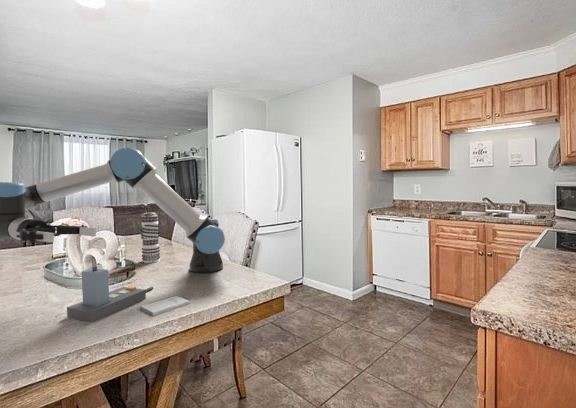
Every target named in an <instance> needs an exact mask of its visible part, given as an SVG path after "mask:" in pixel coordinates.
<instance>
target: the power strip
mask: <svg viewBox="0 0 576 408" xmlns="http://www.w3.org/2000/svg"><path fill="white" fill-rule="evenodd" d="M153 289H154V286H150V287H147V288H145V289H143V288H137V287H136V286H131V285H129V286H121V287H119V288H116V289H114V290H109V303H106V304H104V305H101V306H99V307H93V306H87V305H83V301H80V302H77V303H75V304H72V305H70V306H67V307H66V316H67V318H68V319H73V320H79V321H84V322H89V323H93V322H96V321H98V320H100V319H102V318H105V317H107V316H109V315H111V314H113V313H115V312H118V311H120V310H123V309H126V308H128V307H129V306H132V305H134V304H136V303H138V302H141V301H143V300H144V299H146V298H147V294H146V293H147V292H149V291H151V290H153Z"/></svg>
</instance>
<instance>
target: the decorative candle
mask: <svg viewBox="0 0 576 408" xmlns="http://www.w3.org/2000/svg"><path fill="white" fill-rule="evenodd" d="M158 216H159V215H158V214H157V213H156V212H153V211H152V212H151V211H150V212H144V213H142V214H141V226H140V227H139V228H140V239H141V240H142V244H141V246H142V248H141V253H142V254H141V259H142V260H141V261H142V263H143V262H144V264H152V262H153V263H157V261H158V262H160V261H161V259H160V258H161V256H160V255H161V253H160V251H161V250H160V248H161V247H160V244H159V243H160V241H159V239H160V236H159V235H160V234H161V233H160V229H159V228H161V225H160V222H159V217H158Z"/></svg>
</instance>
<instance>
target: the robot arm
mask: <svg viewBox="0 0 576 408" xmlns="http://www.w3.org/2000/svg"><path fill="white" fill-rule="evenodd" d="M112 182H116V183H117V184H119V183H121V182H125V183H126V184H127V185H129V187H131V188H132V189H133V190H135V189H137V190H140V191H141V192H143V193H144V194H145V196H146V197H148V199H150V200H151V201H152V202H153V203H154V204H155V205H157V207H159V208H160V210H162V211H163V212H164V213H165V214H167V215H168V216H169V217H170V218H171V219H172V220H173V221H174V222H175V223H176V224H177V225H178V226H179V227H181V228H182V230H184V231H185V237H186V238H187V239H188V240H189V241H190V242H192V255H191V259H190V261H189V265H188V266H189V271H190V272H192V273H197V272H198V273H203V274H205V272H207V273H214V272H217V270H218V271H221V270H223V269H224V262H223V259H222V256H221V254H220V250H221V249H222V248H223V246H224V245H225V241H226V239H225V238H226V237H225V234H224V231H223V229H222V228H220V227H219V226H220V224H219V220H218V219H217V218H216V219H215V218H211V219H210V218H209V217H208V216H207V215H200V213H198V212H197V211H196V210H195V209H194V208H193V207H192V206H191V205H190V204H189V203H188V202H187V201H186V200H185V199H184V198H183V197H182V196H180V195H179V194H178V193H177V192H176V191H175V190H174V189H173V188H172V187H171V186H170V185H169V184H168V183H167V182H165V180H164V179H163V178H162V177H160V175H158V174H157V167H156V166H154V164H152V163H151V162H150V161H149V160H148V159H147V158H146V156H144V154H143V152H141V151H140V150H138V149H137V148H135V147H122V148H119V149H118V150H116V151H114V152H113V154H112V155H111V157H110V159H109V160H107V162H106V163H105V164H101V165H98V166H95V167H90V168H88V169H87V168H86V169H85V170H80V171H77V172H73V173H71V174H67V175H63V176H60V177H57V178H53V179H49V180H46V181H43V182H39V183H36V184H32V185H29V186H25V184H24V183H23V182H7V181H6V182H2V181H0V238H1V239H5V240H7V239H8V240H9V239H10V240H17V241H18V240H19V241H21V242H22V243H25V242H29V243H30V244H34V243H36V242H37V243H38V242H43V243H54V242H55V241H54V240H55V239H54V238H55V237H59V236H61V235H79V236H83V237H85V236H86V237H96V236H97V233H96V232H97V228H96V227H88V226H87V225H85V224H81V225H61V224H59V225H51V224H47V222H45V220H42V219H38V218H37V219H36V218H30V217H29V218H28V217H26V208H34V207H36V206H39V205H40V204H44V203H47V202H50V201H51V202H52V201H54V200H57V199H60V198H64V197H67V196H70V195H73V194H77V193H80V192H84V191H86V190H90V189H92V188H96V187H99V186H102V185H105V184H109V183H112ZM220 269H221V270H220ZM213 271H214V272H213Z"/></svg>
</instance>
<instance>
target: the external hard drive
mask: <svg viewBox="0 0 576 408" xmlns="http://www.w3.org/2000/svg"><path fill="white" fill-rule="evenodd" d="M190 303H191V301H190V300H188V299H186V298H183V297H180V296H178V295H175V296H172V297H168V298H164V299H162V300H157V301H154V302H151V303H147V304H145V305H141V306H140V307H139V309H140V310H141V311H142V312H145V313H146V314H149V315H150V316H153V317H154V316H157V315H160V314H163V313H166V312H168V311H171V310H175V309H178V308H181V307H183V306H186V305H189V304H190Z"/></svg>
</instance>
